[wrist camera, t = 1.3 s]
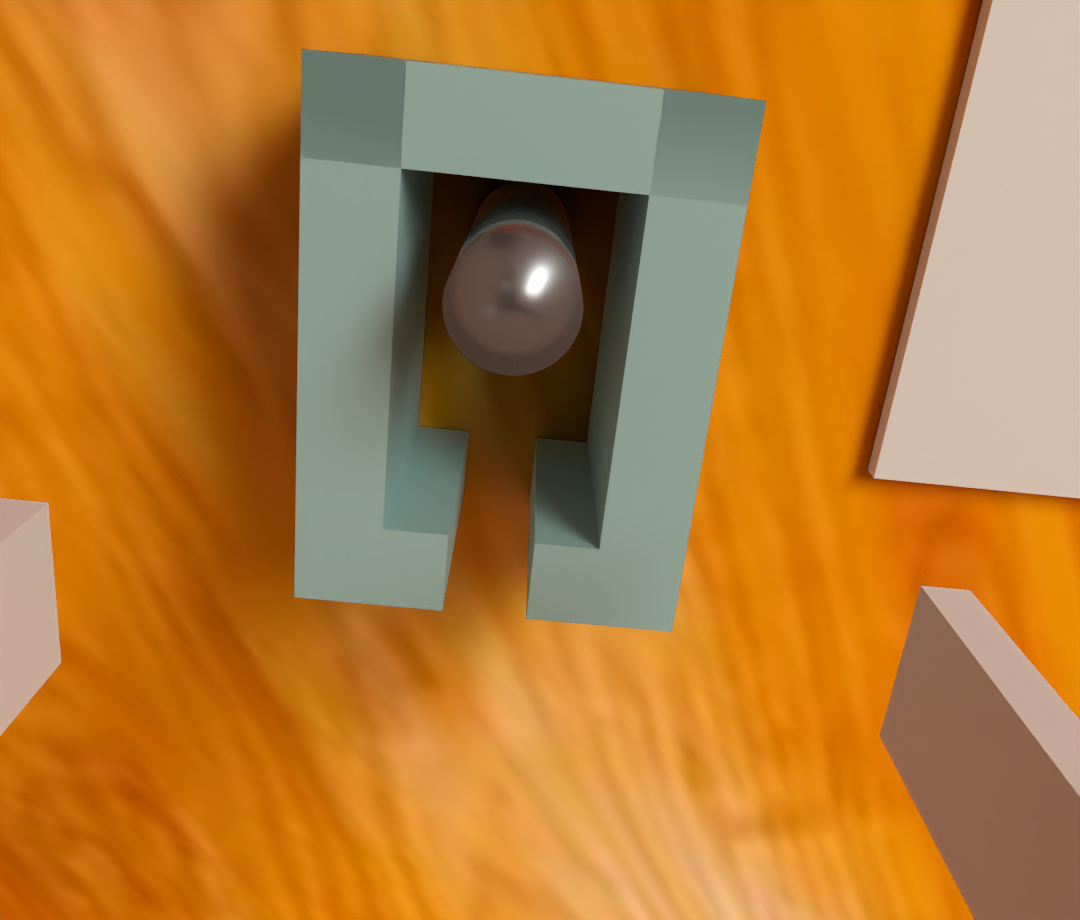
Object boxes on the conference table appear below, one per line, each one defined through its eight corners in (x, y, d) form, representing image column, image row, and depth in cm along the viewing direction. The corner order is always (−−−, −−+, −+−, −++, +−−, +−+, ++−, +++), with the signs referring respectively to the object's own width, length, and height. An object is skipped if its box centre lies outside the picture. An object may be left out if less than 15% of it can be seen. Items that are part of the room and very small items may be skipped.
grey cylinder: (478, 175, 26) (447, 229, 18) (575, 186, 26) (591, 244, 18) (471, 272, 27) (437, 368, 19) (564, 282, 27) (574, 382, 19)
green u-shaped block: (363, 54, 25) (301, 48, 19) (709, 93, 26) (765, 101, 19) (348, 481, 30) (294, 597, 23) (643, 510, 30) (672, 631, 24)
